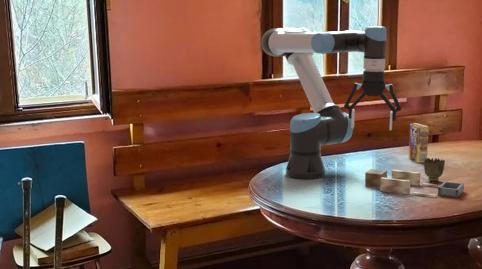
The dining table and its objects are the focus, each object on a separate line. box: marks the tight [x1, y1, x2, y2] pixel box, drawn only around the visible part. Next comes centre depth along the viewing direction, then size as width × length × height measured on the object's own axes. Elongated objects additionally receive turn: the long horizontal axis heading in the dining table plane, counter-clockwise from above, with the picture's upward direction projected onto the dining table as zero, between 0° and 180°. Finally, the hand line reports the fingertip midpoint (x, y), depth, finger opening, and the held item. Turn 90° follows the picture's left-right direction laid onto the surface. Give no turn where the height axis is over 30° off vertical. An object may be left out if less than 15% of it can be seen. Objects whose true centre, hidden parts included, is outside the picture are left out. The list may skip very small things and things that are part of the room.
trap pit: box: [437, 181, 465, 199], centre depth 213 cm, size 6×9×3 cm
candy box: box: [408, 122, 430, 164], centre depth 260 cm, size 9×4×15 cm, turn 13°
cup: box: [423, 157, 446, 183], centre depth 228 cm, size 8×7×8 cm
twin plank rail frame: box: [379, 169, 441, 199], centre depth 219 cm, size 19×14×4 cm
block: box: [364, 168, 388, 189], centre depth 226 cm, size 6×6×5 cm
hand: (371, 128), depth 227 cm, fingers open, 13 cm apart
